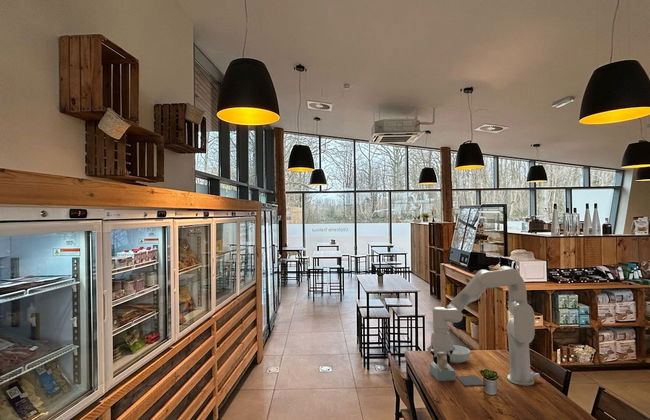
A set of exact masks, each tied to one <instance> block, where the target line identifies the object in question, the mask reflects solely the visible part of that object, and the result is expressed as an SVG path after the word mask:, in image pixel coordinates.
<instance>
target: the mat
mask: <svg viewBox="0 0 650 420" xmlns="http://www.w3.org/2000/svg"><path fill="white" fill-rule="evenodd" d="M455 379H456V380H458V382H459V383H461V385H463V387H480V386H483V382H484V381H483V380H481V378H479V376H477V375H476V374H475V375H455Z"/></svg>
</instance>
